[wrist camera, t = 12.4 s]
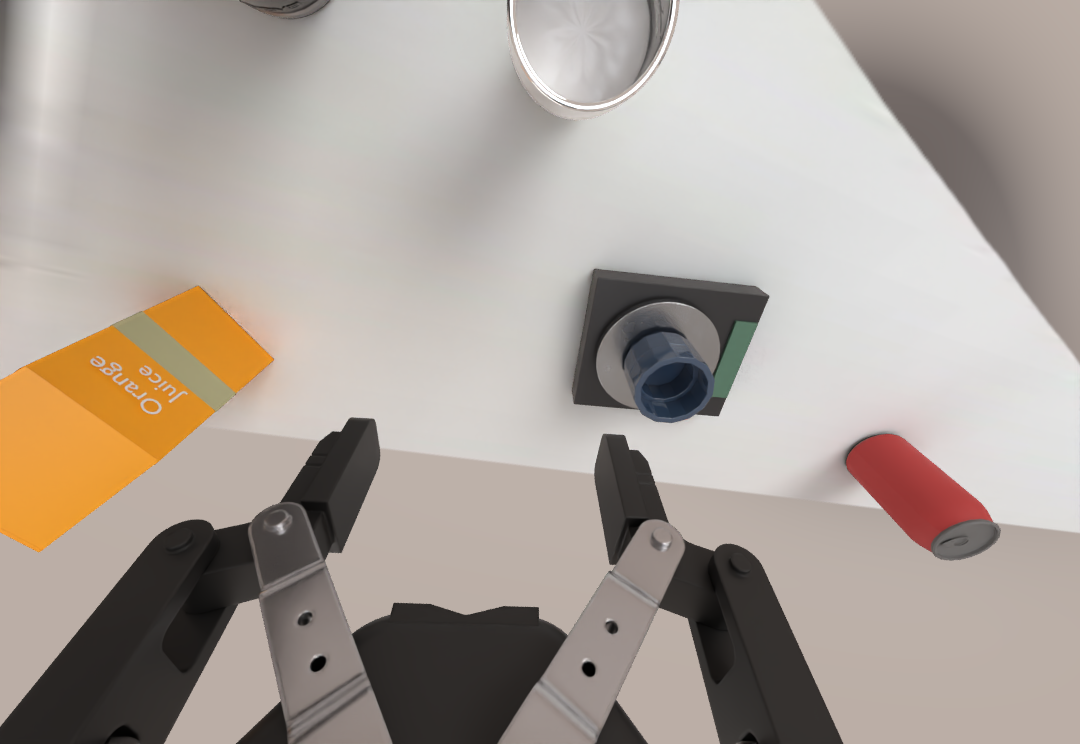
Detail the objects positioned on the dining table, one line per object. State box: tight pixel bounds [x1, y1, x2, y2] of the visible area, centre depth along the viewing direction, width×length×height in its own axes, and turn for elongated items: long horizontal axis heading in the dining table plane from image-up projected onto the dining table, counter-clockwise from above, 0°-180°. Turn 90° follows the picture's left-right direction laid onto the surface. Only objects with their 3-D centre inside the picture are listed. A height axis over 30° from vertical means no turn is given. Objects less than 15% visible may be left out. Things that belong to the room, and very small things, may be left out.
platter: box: [595, 299, 720, 409], centre depth 36 cm, size 11×11×1 cm
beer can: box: [846, 434, 1001, 560], centre depth 42 cm, size 7×7×12 cm
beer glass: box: [507, 0, 679, 120], centre depth 22 cm, size 7×7×15 cm
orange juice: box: [0, 286, 274, 552], centre depth 30 cm, size 8×9×20 cm
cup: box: [624, 332, 715, 423], centre depth 34 cm, size 6×6×5 cm
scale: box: [572, 269, 769, 416], centre depth 38 cm, size 13×15×3 cm
